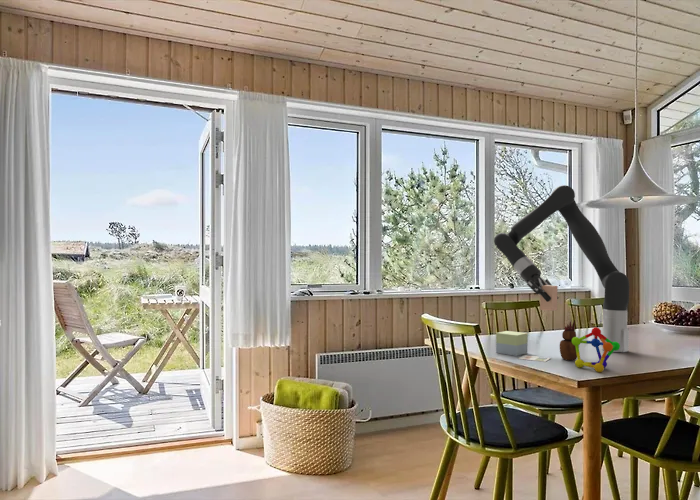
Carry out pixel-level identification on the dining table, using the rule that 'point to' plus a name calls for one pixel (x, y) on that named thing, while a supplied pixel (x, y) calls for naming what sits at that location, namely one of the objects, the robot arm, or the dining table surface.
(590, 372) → the dining table surface
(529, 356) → the page
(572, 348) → the wooden figurine
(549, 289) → the brick
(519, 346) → the pedestal
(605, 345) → the educational toy
